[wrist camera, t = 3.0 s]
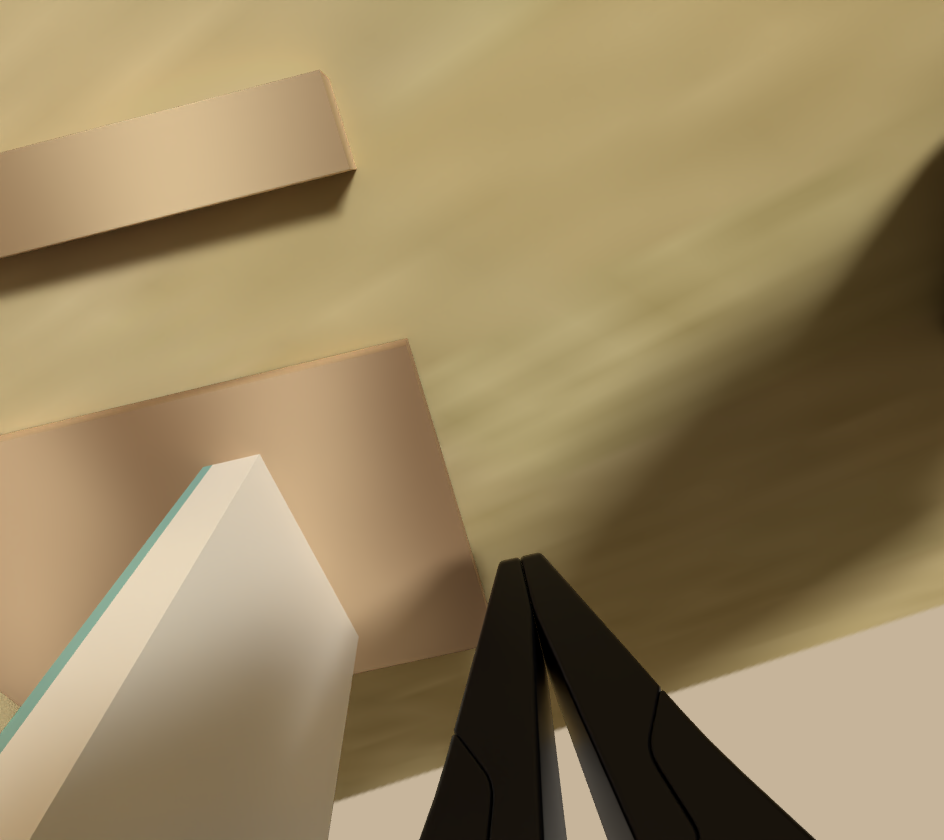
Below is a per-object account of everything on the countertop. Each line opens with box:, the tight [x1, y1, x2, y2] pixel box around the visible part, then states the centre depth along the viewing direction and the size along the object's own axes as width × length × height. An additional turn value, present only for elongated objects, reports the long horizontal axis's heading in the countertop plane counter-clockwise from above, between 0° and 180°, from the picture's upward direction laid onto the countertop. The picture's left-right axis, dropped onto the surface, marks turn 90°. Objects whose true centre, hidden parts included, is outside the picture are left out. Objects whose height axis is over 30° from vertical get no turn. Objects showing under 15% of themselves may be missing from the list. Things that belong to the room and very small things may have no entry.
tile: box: [0, 454, 359, 840], centre depth 8 cm, size 1×6×7 cm, turn 12°
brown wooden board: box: [0, 338, 488, 707], centre depth 11 cm, size 13×9×1 cm
